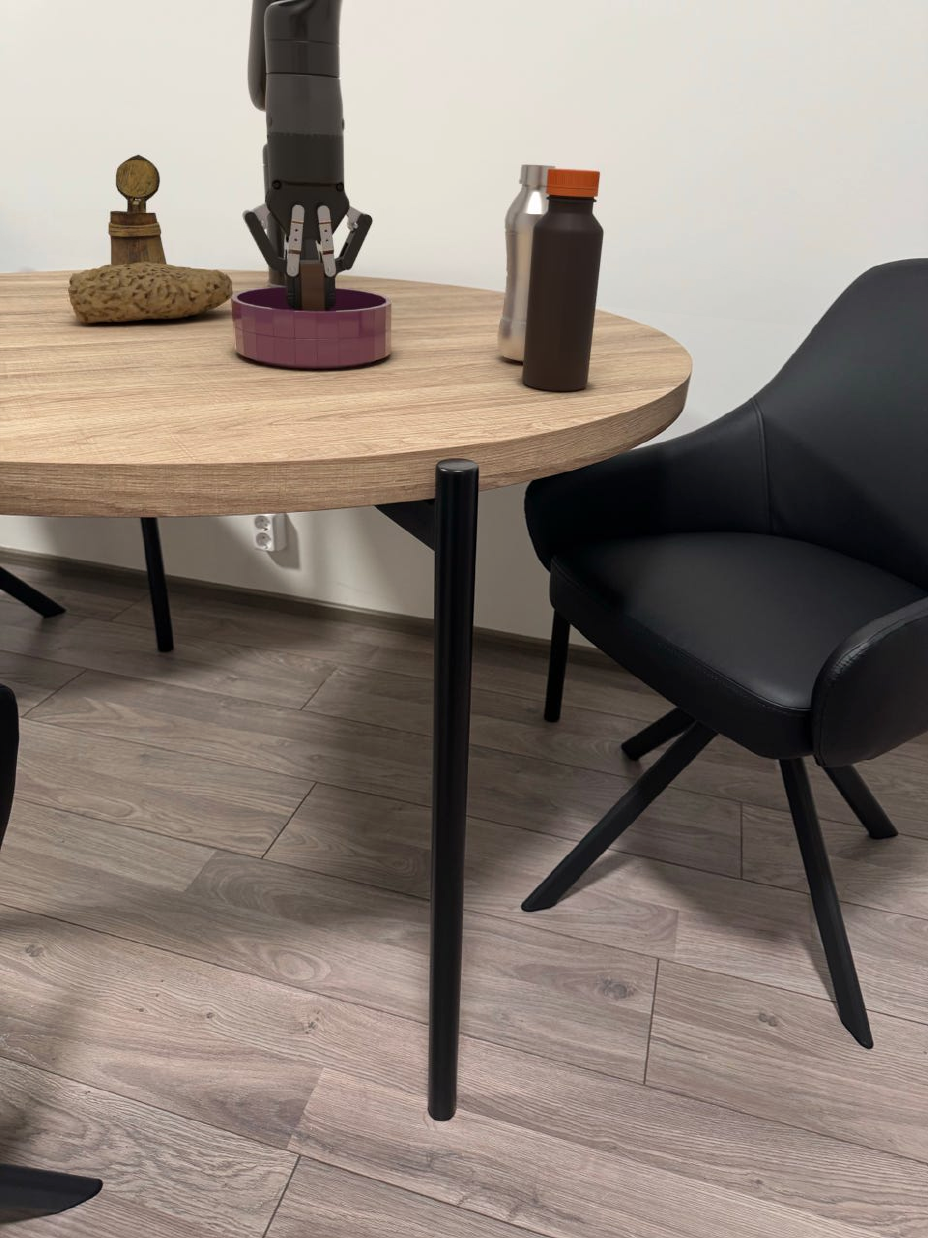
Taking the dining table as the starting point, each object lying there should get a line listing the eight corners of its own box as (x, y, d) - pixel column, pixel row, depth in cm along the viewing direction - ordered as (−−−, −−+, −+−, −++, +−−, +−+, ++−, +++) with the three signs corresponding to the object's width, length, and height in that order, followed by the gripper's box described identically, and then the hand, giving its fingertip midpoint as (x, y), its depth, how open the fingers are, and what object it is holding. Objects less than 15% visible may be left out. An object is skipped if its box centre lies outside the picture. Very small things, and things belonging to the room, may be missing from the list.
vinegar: (532, 373, 98) (549, 167, 89) (594, 381, 96) (617, 171, 87) (513, 386, 93) (528, 167, 83) (577, 395, 91) (600, 172, 81)
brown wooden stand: (183, 288, 138) (171, 155, 130) (170, 302, 127) (156, 158, 118) (122, 286, 137) (106, 152, 129) (104, 301, 125) (84, 154, 117)
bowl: (228, 339, 107) (224, 285, 104) (371, 337, 112) (371, 285, 109) (244, 373, 92) (240, 312, 89) (408, 369, 97) (409, 310, 95)
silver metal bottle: (557, 357, 106) (574, 166, 97) (546, 369, 100) (563, 167, 91) (503, 352, 107) (515, 163, 98) (489, 363, 102) (500, 163, 92)
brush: (287, 344, 101) (283, 257, 97) (327, 343, 103) (325, 258, 98) (296, 355, 96) (292, 265, 92) (338, 354, 98) (336, 265, 93)
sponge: (83, 341, 108) (247, 302, 113) (58, 272, 105) (227, 235, 110) (87, 340, 120) (235, 304, 125) (65, 278, 117) (217, 244, 122)
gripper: (366, 132, 95) (366, 306, 103) (229, 125, 91) (241, 306, 99) (383, 133, 89) (382, 318, 97) (237, 125, 84) (249, 319, 92)
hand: (311, 311), depth 98 cm, fingers closed on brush, 2 cm apart
